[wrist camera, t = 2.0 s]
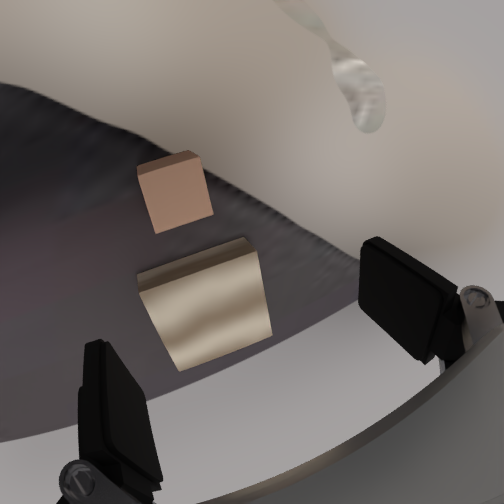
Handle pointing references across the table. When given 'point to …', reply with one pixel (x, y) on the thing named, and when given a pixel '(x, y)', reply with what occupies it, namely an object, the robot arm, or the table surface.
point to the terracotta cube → (174, 190)
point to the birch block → (207, 303)
